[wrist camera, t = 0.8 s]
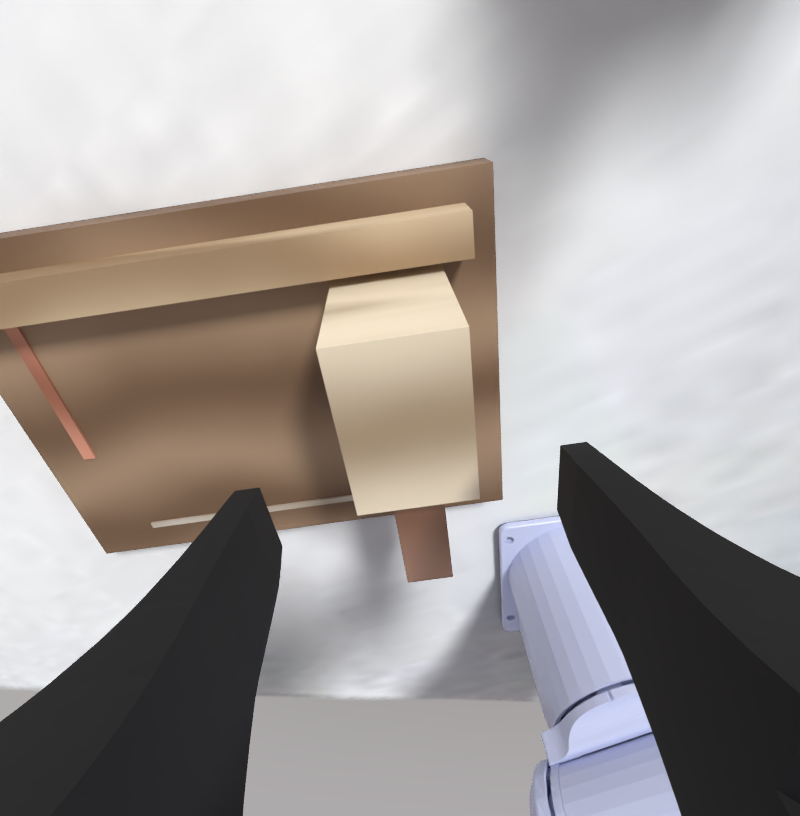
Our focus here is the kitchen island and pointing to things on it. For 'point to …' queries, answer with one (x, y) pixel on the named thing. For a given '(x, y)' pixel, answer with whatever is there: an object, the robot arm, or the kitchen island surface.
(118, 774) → the robot arm
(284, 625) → the kitchen island surface
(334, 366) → the mallet
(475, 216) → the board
